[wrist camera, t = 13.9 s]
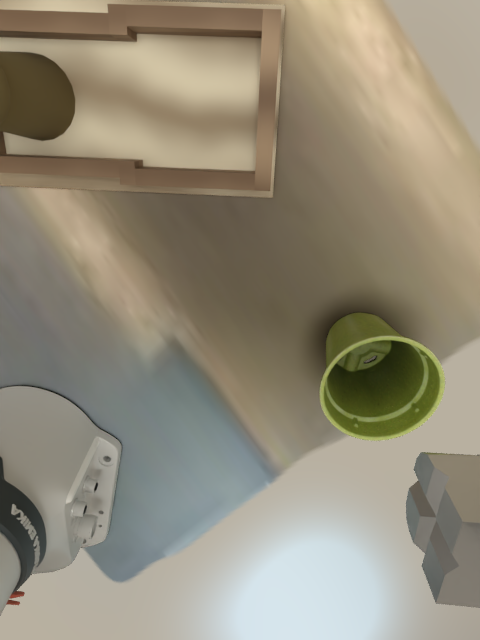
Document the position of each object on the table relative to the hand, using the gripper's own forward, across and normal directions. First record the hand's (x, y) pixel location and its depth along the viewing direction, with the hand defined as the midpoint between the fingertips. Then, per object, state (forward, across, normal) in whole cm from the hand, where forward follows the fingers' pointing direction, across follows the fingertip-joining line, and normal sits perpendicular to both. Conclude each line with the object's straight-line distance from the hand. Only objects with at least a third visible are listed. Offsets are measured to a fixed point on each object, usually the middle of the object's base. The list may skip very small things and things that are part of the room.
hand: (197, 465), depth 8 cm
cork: (+30, -16, +8) cm, 35 cm away
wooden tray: (+31, -11, +7) cm, 34 cm away
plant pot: (+31, +11, -12) cm, 35 cm away
